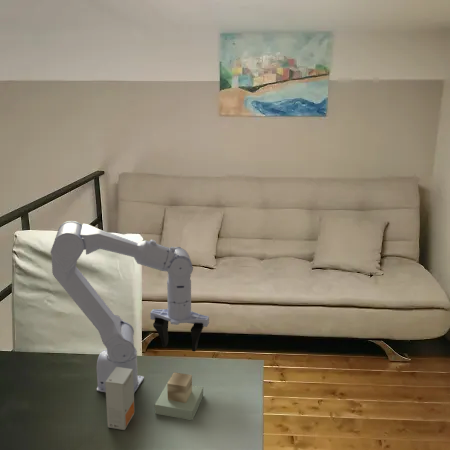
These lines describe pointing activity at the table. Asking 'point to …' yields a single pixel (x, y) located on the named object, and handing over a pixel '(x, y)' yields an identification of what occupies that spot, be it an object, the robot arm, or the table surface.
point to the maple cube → (179, 387)
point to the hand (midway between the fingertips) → (179, 347)
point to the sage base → (179, 404)
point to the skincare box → (120, 398)
